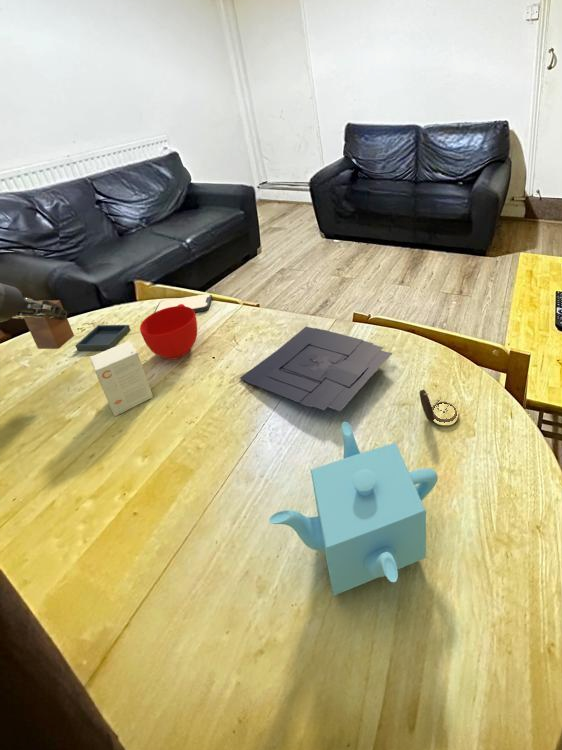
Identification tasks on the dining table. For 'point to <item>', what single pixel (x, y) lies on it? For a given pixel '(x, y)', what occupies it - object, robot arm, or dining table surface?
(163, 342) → the ceramic cup
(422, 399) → the compass
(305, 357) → the dark grey flat slab
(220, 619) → the dining table surface
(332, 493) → the teakettle
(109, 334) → the cradle
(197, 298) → the phone case
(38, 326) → the pad block
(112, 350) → the small box
